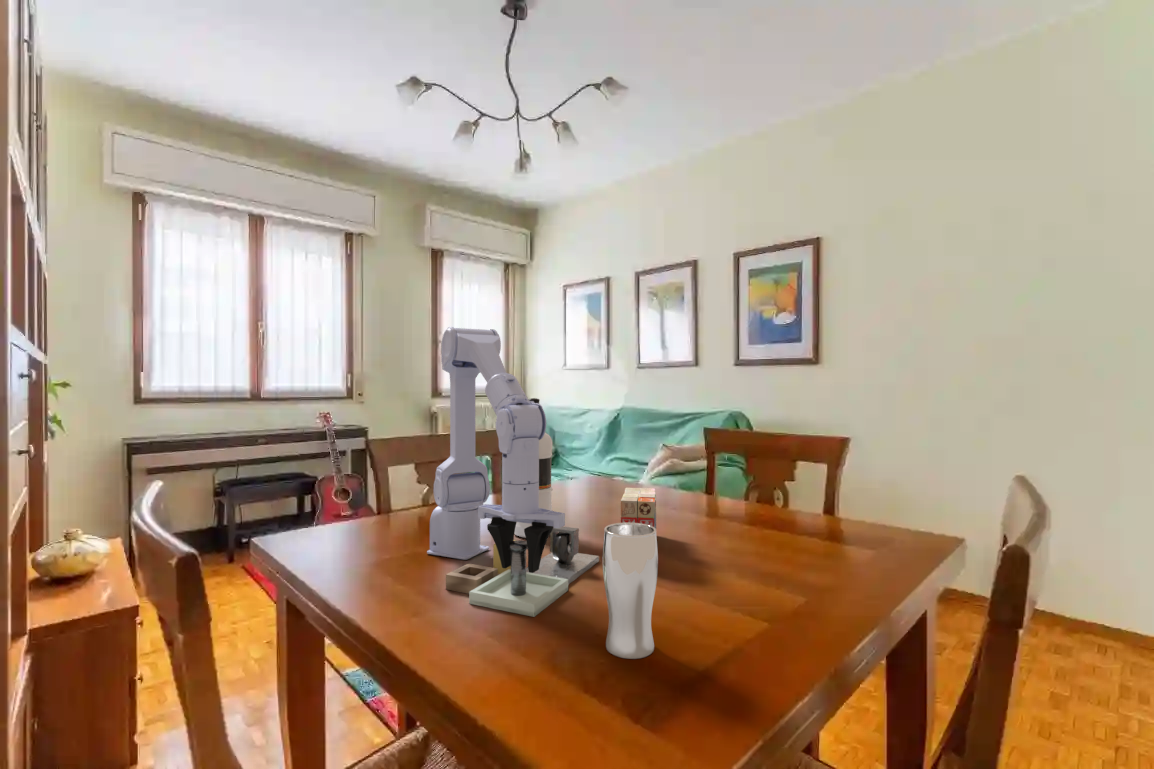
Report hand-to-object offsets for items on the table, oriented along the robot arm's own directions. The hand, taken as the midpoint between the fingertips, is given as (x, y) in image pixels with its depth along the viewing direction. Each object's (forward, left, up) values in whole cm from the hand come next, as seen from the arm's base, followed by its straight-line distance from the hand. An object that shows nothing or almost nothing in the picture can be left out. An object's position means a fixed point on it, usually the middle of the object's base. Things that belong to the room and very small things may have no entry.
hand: (520, 568), depth 86 cm
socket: (-9, +1, -4) cm, 10 cm away
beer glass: (+21, -8, -5) cm, 23 cm away
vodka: (-16, +33, -5) cm, 37 cm away
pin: (0, 0, -4) cm, 4 cm away
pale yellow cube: (-8, +10, -4) cm, 13 cm away
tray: (0, 0, -4) cm, 4 cm away
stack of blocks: (+9, +32, -5) cm, 33 cm away
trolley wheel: (0, +14, -4) cm, 14 cm away
